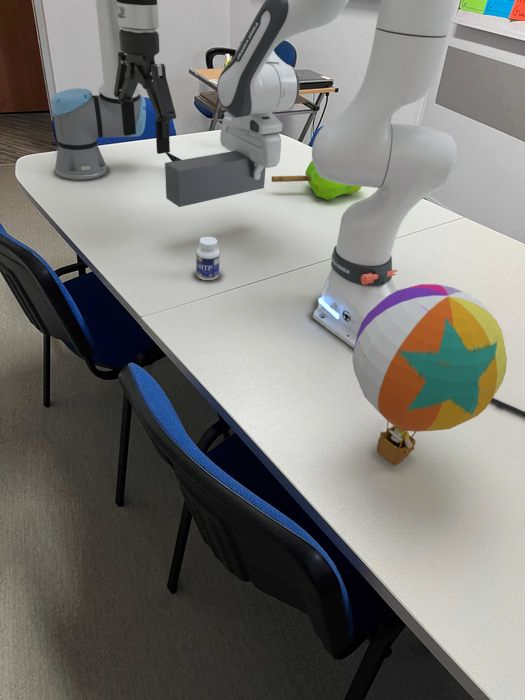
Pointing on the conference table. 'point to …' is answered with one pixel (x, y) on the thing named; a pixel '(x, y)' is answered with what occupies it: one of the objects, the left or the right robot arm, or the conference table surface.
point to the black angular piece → (172, 157)
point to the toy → (427, 362)
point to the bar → (210, 178)
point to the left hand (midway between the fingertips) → (146, 143)
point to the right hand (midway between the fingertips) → (247, 174)
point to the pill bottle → (207, 259)
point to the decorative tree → (320, 184)
